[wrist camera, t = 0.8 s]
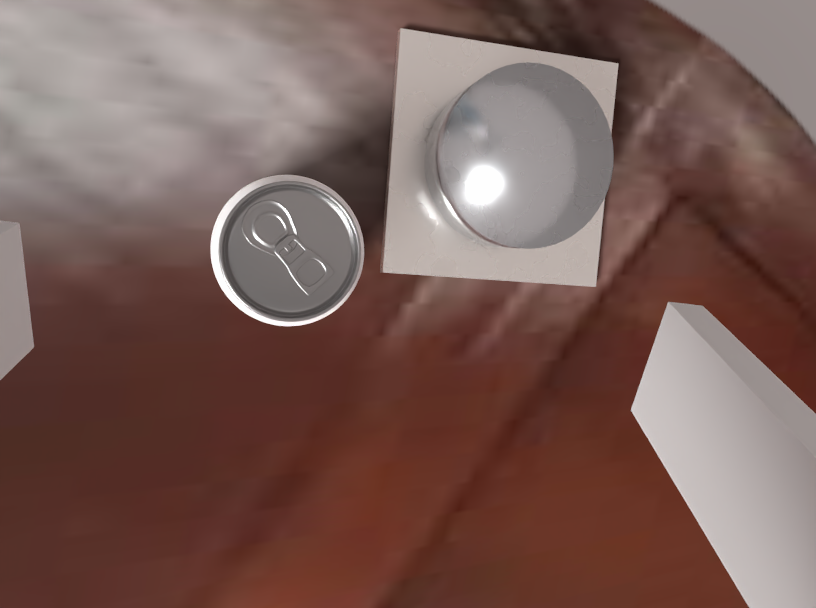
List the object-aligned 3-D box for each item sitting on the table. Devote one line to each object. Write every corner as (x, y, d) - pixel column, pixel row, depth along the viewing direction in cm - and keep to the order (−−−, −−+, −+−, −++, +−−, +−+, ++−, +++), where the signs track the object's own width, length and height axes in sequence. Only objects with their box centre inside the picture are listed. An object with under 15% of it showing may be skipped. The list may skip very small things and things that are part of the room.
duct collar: (397, 32, 37) (417, 3, 33) (611, 66, 41) (657, 44, 36) (379, 271, 39) (397, 276, 34) (589, 285, 42) (631, 291, 37)
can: (283, 167, 37) (296, 135, 25) (358, 251, 38) (403, 258, 27) (196, 242, 36) (169, 245, 24) (276, 325, 37) (287, 365, 26)
